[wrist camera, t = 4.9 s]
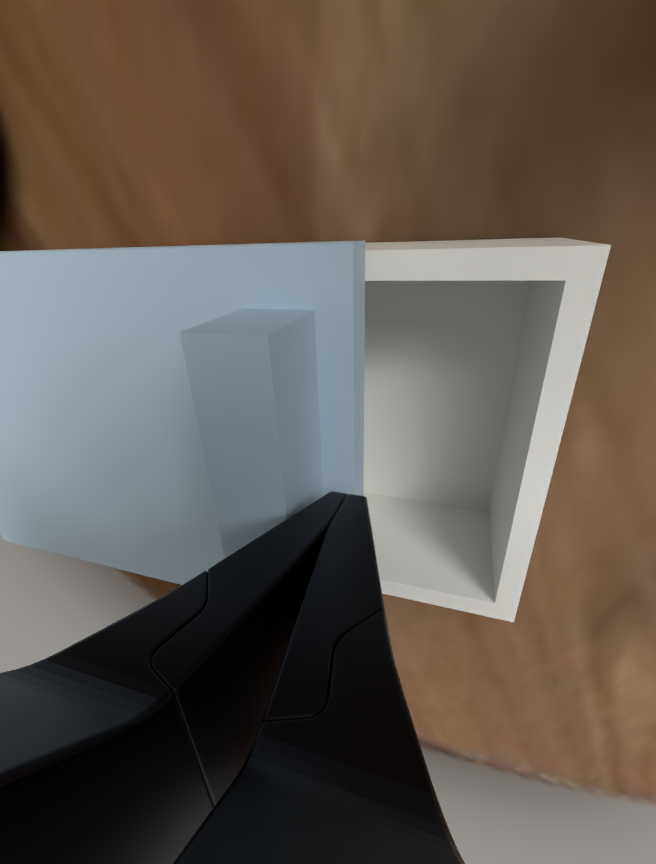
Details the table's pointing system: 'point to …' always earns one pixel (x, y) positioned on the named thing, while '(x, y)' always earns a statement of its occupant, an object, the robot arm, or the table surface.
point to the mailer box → (468, 407)
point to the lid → (176, 397)
